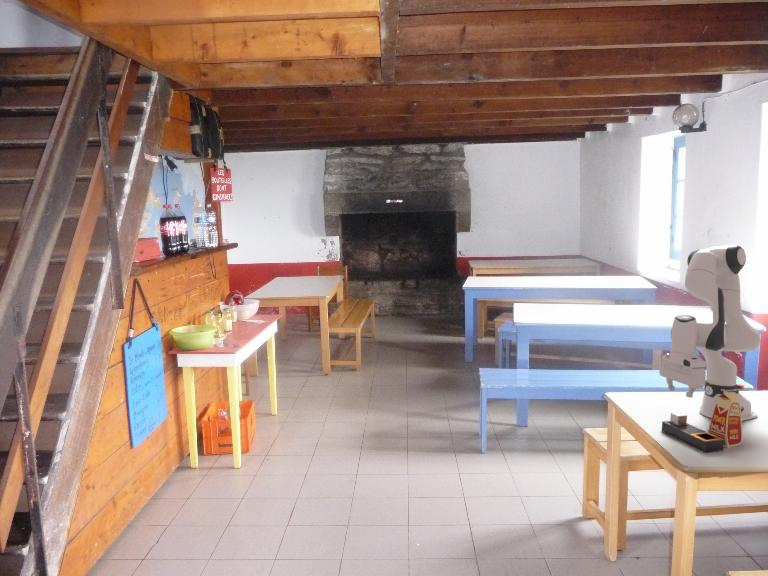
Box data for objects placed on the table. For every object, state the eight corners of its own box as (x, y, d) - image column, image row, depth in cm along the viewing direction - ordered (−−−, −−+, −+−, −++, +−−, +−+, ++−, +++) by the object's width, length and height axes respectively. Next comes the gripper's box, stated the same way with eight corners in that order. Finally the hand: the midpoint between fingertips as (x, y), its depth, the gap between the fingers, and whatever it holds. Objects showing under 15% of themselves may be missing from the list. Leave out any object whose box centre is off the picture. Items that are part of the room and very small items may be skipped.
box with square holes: (678, 429, 238) (679, 419, 237) (723, 450, 217) (724, 439, 216) (661, 431, 236) (662, 420, 235) (705, 452, 214) (705, 441, 214)
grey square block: (678, 431, 235) (679, 412, 234) (685, 435, 231) (687, 415, 230) (669, 432, 234) (670, 412, 233) (677, 436, 230) (678, 416, 229)
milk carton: (727, 447, 219) (731, 394, 217) (705, 439, 228) (709, 388, 225) (744, 444, 223) (748, 392, 220) (721, 435, 231) (725, 385, 229)
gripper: (656, 352, 238) (654, 386, 240) (695, 364, 219) (693, 401, 220) (669, 352, 240) (667, 385, 241) (709, 363, 220) (707, 400, 222)
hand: (680, 393), depth 230 cm, fingers open, 8 cm apart
